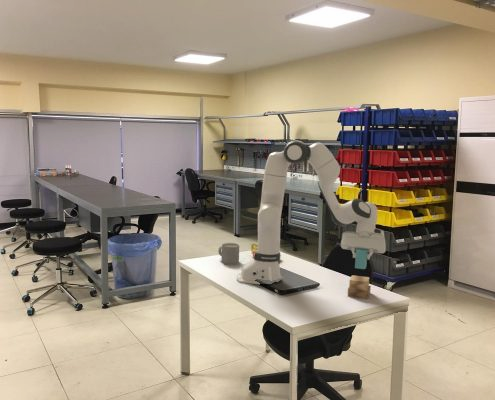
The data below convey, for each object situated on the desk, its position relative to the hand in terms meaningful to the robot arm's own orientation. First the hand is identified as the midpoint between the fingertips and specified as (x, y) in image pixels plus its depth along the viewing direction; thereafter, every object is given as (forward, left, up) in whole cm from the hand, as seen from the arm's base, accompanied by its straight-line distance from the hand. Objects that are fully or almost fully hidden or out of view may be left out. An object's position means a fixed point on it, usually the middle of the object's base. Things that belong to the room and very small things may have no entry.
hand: (361, 258), depth 209 cm
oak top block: (0, 0, -14) cm, 14 cm away
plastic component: (-43, +60, -18) cm, 76 cm away
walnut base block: (0, 0, -18) cm, 18 cm away
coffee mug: (-64, +49, -18) cm, 82 cm away
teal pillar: (0, +1, -5) cm, 5 cm away
